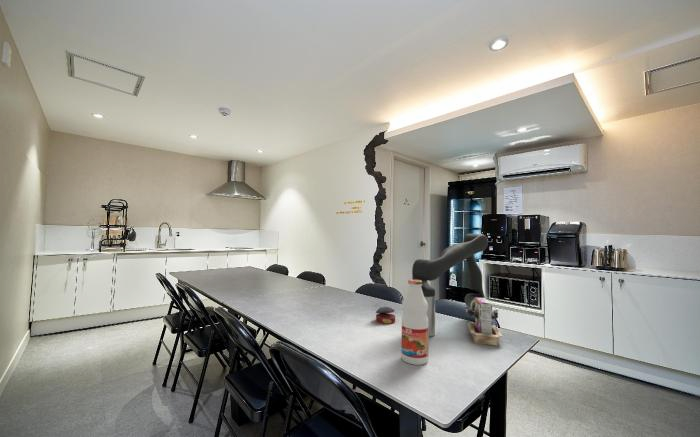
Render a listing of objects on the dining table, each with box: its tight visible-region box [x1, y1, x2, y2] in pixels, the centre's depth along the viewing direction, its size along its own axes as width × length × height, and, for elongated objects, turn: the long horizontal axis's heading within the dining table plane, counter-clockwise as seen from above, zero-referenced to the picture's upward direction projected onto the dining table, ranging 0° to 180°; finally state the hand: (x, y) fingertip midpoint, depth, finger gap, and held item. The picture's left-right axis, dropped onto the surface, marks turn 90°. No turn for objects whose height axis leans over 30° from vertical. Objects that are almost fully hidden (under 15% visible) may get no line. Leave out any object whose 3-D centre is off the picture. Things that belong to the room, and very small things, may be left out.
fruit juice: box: [400, 279, 429, 366], centre depth 103 cm, size 9×9×28 cm
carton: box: [467, 321, 503, 347], centre depth 126 cm, size 12×18×4 cm, turn 163°
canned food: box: [375, 306, 396, 325], centre depth 148 cm, size 11×10×10 cm
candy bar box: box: [474, 297, 494, 335], centre depth 126 cm, size 11×5×16 cm, turn 168°
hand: (484, 316), depth 123 cm, fingers closed on candy bar box, 5 cm apart
